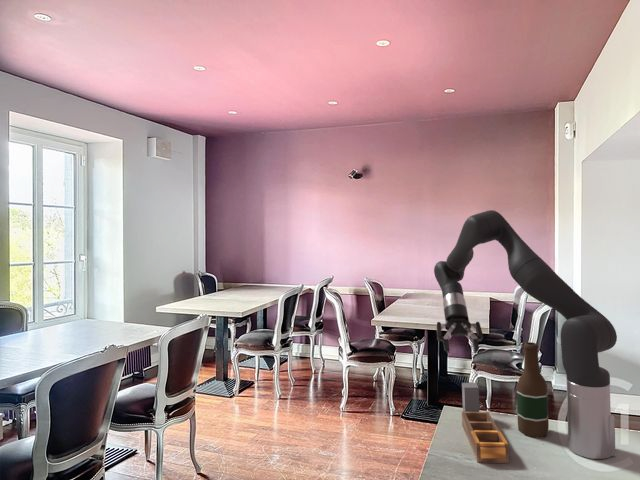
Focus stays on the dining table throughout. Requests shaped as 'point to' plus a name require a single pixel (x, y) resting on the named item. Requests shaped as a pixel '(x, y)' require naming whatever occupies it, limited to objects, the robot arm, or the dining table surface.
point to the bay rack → (485, 437)
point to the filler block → (470, 397)
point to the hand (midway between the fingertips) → (462, 351)
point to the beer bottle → (532, 396)
